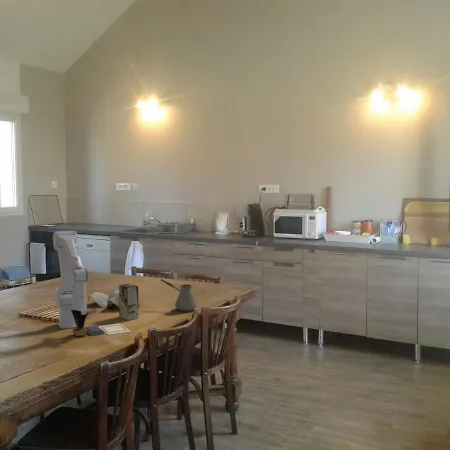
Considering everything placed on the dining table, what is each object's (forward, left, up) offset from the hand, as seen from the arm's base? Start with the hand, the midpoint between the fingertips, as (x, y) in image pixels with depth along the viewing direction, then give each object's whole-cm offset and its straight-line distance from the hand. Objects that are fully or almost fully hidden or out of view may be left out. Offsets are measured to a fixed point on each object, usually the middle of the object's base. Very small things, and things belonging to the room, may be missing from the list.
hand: (79, 327), depth 242 cm
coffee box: (-19, +30, -4) cm, 35 cm away
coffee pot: (-24, +59, -4) cm, 63 cm away
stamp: (0, 0, -3) cm, 3 cm away
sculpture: (-46, +31, -4) cm, 56 cm away
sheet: (-2, +16, -4) cm, 17 cm away
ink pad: (-2, +7, -4) cm, 8 cm away
